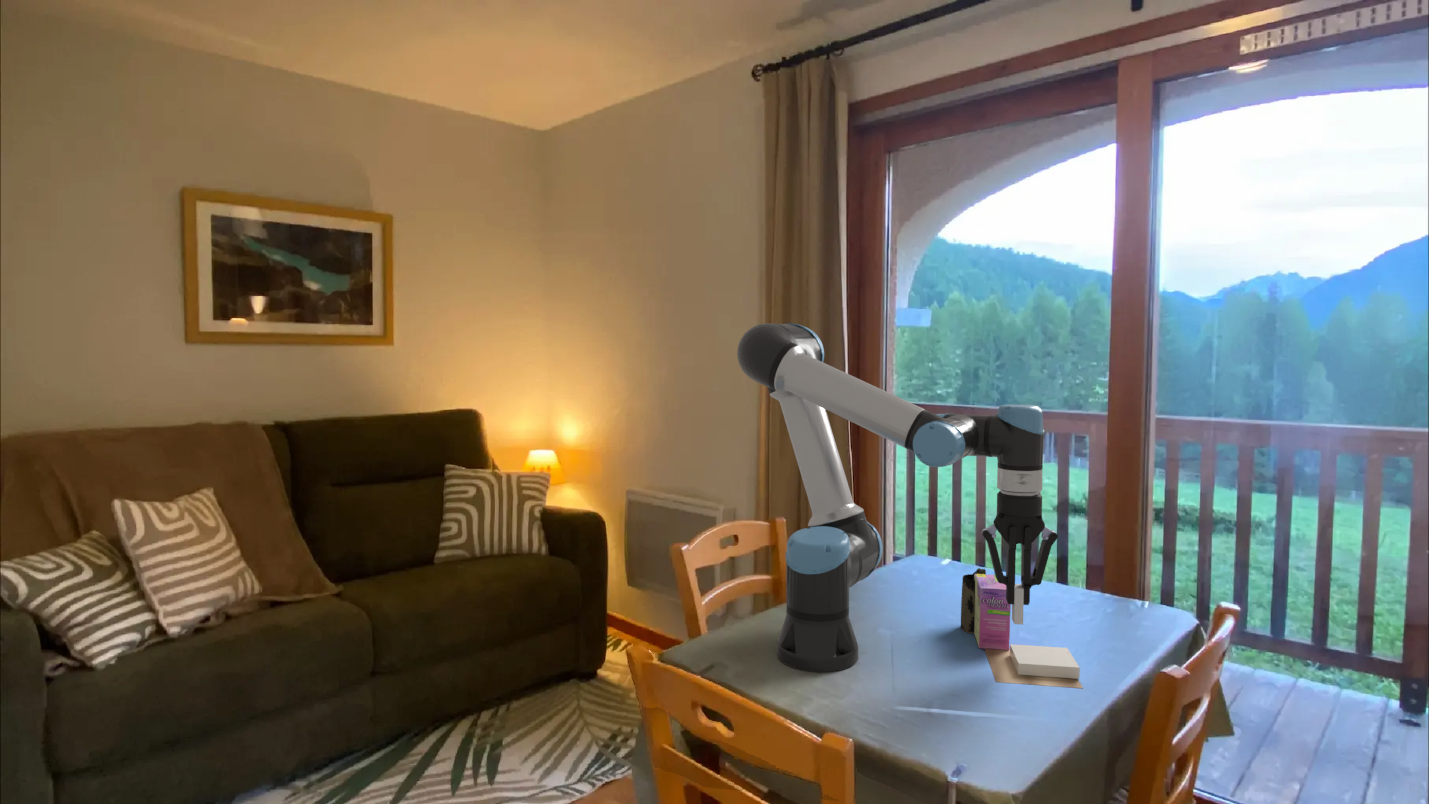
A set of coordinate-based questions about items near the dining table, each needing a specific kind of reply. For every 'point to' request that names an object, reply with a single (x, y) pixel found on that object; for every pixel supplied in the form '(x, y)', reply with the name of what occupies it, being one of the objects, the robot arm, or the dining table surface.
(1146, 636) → the dining table surface
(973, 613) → the mug
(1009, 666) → the mat
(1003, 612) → the box
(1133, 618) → the dining table surface
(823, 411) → the robot arm
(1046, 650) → the tile
